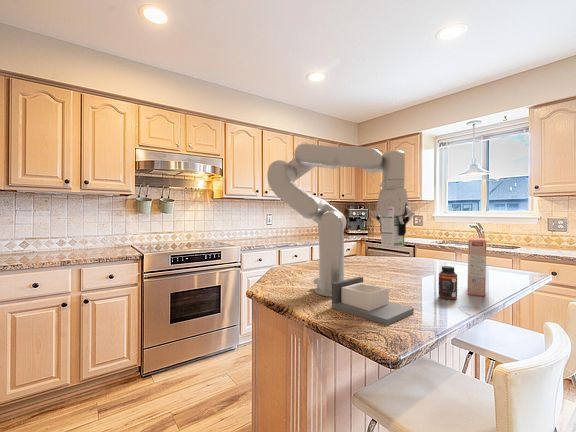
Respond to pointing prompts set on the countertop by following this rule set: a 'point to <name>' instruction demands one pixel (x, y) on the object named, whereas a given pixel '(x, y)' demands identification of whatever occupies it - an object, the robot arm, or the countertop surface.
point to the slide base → (380, 315)
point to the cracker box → (477, 266)
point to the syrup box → (391, 230)
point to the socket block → (365, 296)
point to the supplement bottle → (448, 283)
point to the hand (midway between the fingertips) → (392, 234)
